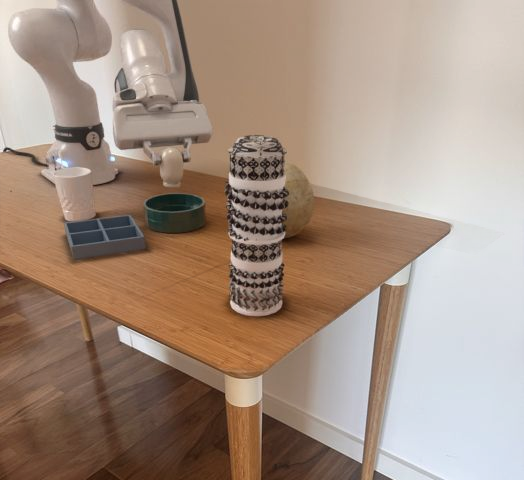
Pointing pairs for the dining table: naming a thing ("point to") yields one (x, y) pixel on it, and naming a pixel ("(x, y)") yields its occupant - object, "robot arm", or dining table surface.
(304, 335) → the dining table surface
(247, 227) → the decorative candle
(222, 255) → the dining table surface
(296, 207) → the fossilized egg
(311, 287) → the dining table surface
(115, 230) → the divided tray
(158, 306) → the dining table surface
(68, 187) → the white cup
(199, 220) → the bowl
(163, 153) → the cream capsule
